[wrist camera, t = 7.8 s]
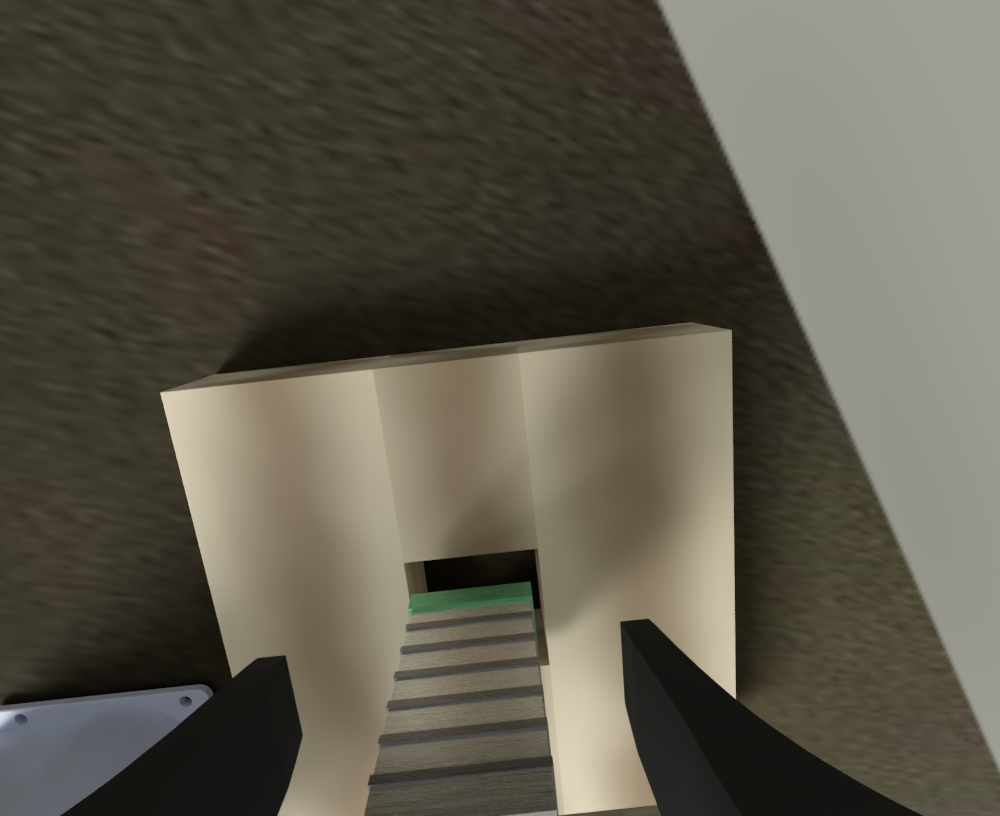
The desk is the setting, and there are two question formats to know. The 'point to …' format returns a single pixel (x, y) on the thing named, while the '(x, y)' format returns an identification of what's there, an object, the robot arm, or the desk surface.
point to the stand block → (468, 527)
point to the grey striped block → (467, 711)
